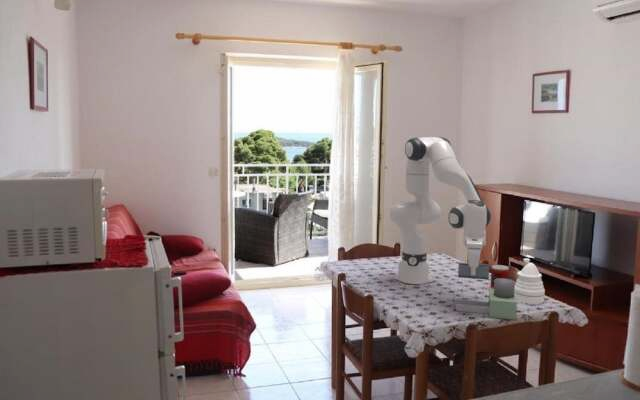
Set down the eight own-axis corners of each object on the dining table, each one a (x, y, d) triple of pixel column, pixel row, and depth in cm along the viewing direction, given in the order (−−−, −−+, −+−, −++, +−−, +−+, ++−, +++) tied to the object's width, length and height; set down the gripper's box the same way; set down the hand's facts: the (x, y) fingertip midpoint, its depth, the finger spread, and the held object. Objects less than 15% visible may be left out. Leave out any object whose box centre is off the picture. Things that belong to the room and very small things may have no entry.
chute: (458, 274, 233) (458, 262, 232) (488, 276, 230) (488, 264, 229) (458, 277, 228) (458, 265, 228) (488, 279, 225) (489, 267, 224)
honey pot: (507, 299, 244) (509, 259, 242) (521, 293, 253) (523, 255, 251) (536, 306, 235) (538, 264, 233) (549, 300, 244) (551, 260, 242)
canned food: (507, 288, 261) (508, 265, 260) (508, 293, 254) (509, 269, 252) (490, 286, 263) (491, 264, 262) (490, 291, 256) (491, 268, 254)
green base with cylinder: (457, 301, 241) (458, 272, 239) (513, 306, 234) (514, 276, 233) (455, 313, 224) (457, 282, 223) (515, 319, 218) (517, 287, 216)
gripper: (467, 235, 238) (465, 266, 240) (466, 244, 218) (464, 278, 220) (482, 236, 236) (481, 267, 238) (482, 245, 217) (481, 279, 218)
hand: (473, 273), depth 229 cm, fingers closed on chute, 5 cm apart
